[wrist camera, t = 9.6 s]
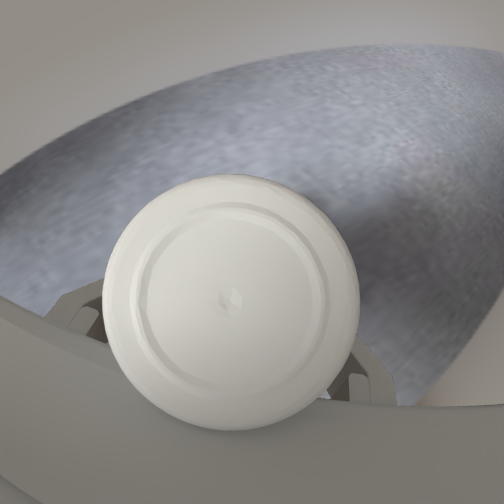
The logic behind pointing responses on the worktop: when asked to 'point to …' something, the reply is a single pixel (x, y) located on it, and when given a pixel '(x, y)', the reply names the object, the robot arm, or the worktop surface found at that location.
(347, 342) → the sprinkles bottle
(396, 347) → the worktop surface
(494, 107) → the worktop surface
